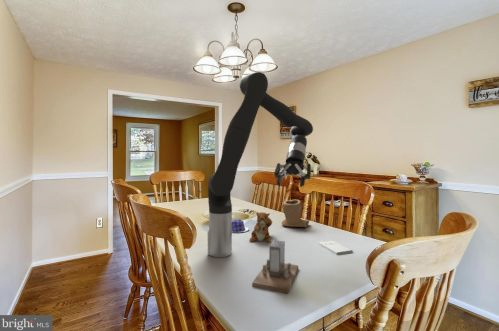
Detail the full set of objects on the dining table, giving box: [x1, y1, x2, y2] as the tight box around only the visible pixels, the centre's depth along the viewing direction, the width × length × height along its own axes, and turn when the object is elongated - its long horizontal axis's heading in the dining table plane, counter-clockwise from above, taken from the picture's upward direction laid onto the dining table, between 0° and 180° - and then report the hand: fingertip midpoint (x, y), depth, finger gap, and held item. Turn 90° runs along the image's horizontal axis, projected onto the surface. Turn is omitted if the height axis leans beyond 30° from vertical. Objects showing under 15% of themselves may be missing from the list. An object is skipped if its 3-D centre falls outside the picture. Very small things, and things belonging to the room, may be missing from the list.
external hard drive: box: [318, 240, 354, 256], centre depth 109 cm, size 2×8×12 cm
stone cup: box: [281, 199, 310, 228], centre depth 140 cm, size 15×12×15 cm
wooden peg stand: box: [252, 259, 299, 294], centre depth 83 cm, size 17×11×4 cm, turn 159°
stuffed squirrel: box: [249, 211, 273, 243], centre depth 121 cm, size 10×14×13 cm
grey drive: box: [268, 239, 286, 278], centre depth 83 cm, size 6×4×10 cm, turn 159°
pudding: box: [232, 218, 249, 233], centre depth 134 cm, size 12×12×5 cm
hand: (290, 185), depth 97 cm, fingers open, 8 cm apart
